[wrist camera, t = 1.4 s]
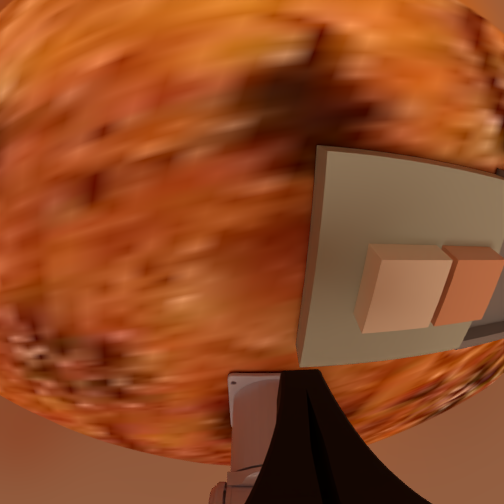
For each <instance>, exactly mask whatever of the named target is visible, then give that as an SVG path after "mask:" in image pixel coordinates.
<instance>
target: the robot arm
mask: <svg viewBox="0 0 504 504" xmlns="http://www.w3.org/2000/svg"><path fill="white" fill-rule="evenodd" d="M228 391H229V405H230V419H231V427H232V448H231V472H228V473H227V483H226V482H219V483H217V485H216V486H215V487H213V488H212V490H211V492H210V497H209V504H431V503H430V502H429V501H427V500H426V499H424V498H423V497H421V496H420V495H418V494H417V493H416V492H414V491H413V490H412V489H411V488H409V487H408V486H407V485H405V483H403V482H402V481H401V480H400V479H399V478H398V477H397V476H395V475H394V474H393V473H392V472H391V471H390V470H389V469H388V468H387V467H386V466H385V465H384V464H383V463H382V462H381V461H380V460H379V459H378V458H377V456H376V455H375V454H374V453H373V452H372V451H371V450H370V448H369V447H368V446H367V445H366V444H365V442H364V441H363V440H362V438H361V437H360V436H359V434H358V433H357V432H356V430H355V429H354V428H353V426H352V425H351V423H350V422H349V420H348V419H347V417H346V416H345V414H344V413H343V411H342V410H341V408H340V406H339V405H338V403H337V402H336V400H335V398H334V396H333V395H332V393H331V391H330V389H329V387H328V386H327V384H326V382H325V380H324V378H323V376H322V374H321V372H320V371H319V370H318V369H315V370H294V371H283V372H281V373H231V374H229V375H228Z"/></svg>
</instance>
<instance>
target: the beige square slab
mask: <svg viewBox="0 0 504 504" xmlns="http://www.w3.org/2000/svg"><path fill="white" fill-rule="evenodd" d="M503 240H504V178H503V177H501V176H499V175H496V174H493V173H489V172H485V171H481V170H477V169H473V168H468V167H464V166H459V165H455V164H450V163H445V162H440V161H435V160H430V159H424V158H418V157H413V156H406V155H400V154H393V153H386V152H379V151H371V150H363V149H354V148H344V147H333V146H321V145H317V150H316V165H315V179H314V192H313V204H312V215H311V226H310V236H309V245H308V254H307V263H306V272H305V280H304V288H303V296H302V304H301V311H300V318H299V325H298V332H297V339H296V349H297V355H298V361H299V367H317V366H332V365H345V364H356V363H366V362H375V361H384V360H392V359H399V358H406V357H413V356H419V355H425V354H431V353H436V352H442V351H447V350H452V349H457V348H459V347H460V345H461V343H462V341H463V339H464V337H465V335H466V333H467V331H468V329H469V327H470V325H471V323H472V321H468V322H462V323H455V324H448V325H441V326H433V324H432V323H431V322H430V324H429V326H428V327H426V328H417V329H409V330H399V331H389V332H377V333H364V334H362V333H361V330H360V328H359V326H358V323H357V321H356V319H355V316H354V314H353V312H354V308H355V304H356V300H357V296H358V292H359V288H360V283H361V279H362V274H363V270H364V265H365V260H366V255H367V250H368V245H369V244H409V245H437V246H438V247H439V248H440V249H441V248H442V245H446V246H477V247H491V248H492V249H493V250H494V251H496V252H497V253H498V254H499V253H500V249H501V246H502V243H503Z"/></svg>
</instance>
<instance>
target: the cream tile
mask: <svg viewBox="0 0 504 504" xmlns="http://www.w3.org/2000/svg"><path fill="white" fill-rule="evenodd" d="M452 261H453V260H452V259H451V258H450V257H449V256H448V255H447V254H446V253H445V252H444V251H442V250H441V249H440V248H439V247H438V246H437V245H409V244H369V245H368V250H367V255H366V260H365V265H364V270H363V274H362V279H361V283H360V288H359V292H358V296H357V300H356V304H355V308H354V312H353V314H354V316H355V319H356V321H357V323H358V326H359V328H360V330H361V333H362V334H364V333H377V332H389V331H399V330H409V329H417V328H426V327H428V326H429V324H430V322H431V319H432V317H433V314H434V312H435V309H436V307H437V304H438V302H439V299H440V296H441V294H442V291H443V288H444V285H445V283H446V280H447V277H448V274H449V271H450V268H451V264H452Z"/></svg>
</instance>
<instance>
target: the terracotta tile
mask: <svg viewBox="0 0 504 504" xmlns="http://www.w3.org/2000/svg"><path fill="white" fill-rule="evenodd" d="M441 250H442V251H444V252H445V253H446V254H447V255H448V256H449V257H450V258H451V259H452V260H453V261H452V264H451V268H450V271H449V274H448V277H447V280H446V283H445V285H444V288H443V291H442V294H441V296H440V299H439V302H438V304H437V307H436V309H435V312H434V314H433V317H432V319H431V323H432V324H433V326H441V325H448V324H455V323H462V322H468V321H474V320H480V319H482V317H483V315H484V313H485V311H486V309H487V306H488V304H489V302H490V299H491V297H492V295H493V292H494V290H495V287H496V285H497V282H498V280H499V277H500V275H501V272H502V269H503V266H504V258H503V257H502V256H500V255H499V254H498V253H497V252H496V251H494V250H493V249H492V248H491V247H477V246H446V245H442V248H441Z"/></svg>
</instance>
